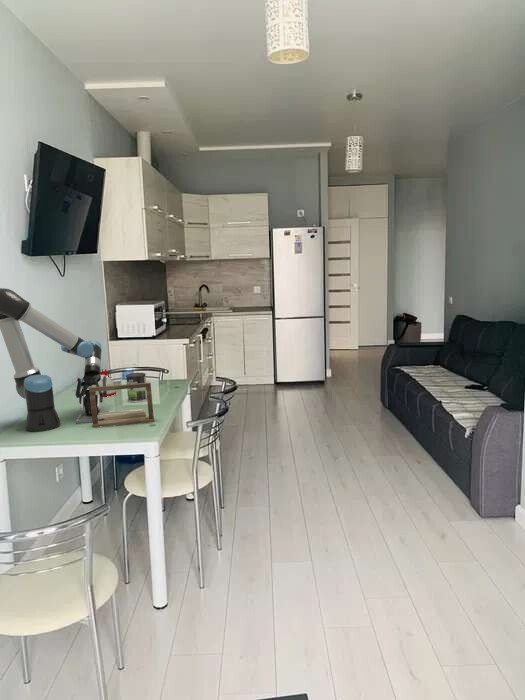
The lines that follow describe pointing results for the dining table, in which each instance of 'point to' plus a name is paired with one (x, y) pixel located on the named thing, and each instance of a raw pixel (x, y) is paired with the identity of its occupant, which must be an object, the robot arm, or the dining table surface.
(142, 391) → the coffee can
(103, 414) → the offcut stack
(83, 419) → the grey tray
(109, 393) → the kitchen timer
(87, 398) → the supplement bottle
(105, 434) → the dining table surface
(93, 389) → the walnut rack
